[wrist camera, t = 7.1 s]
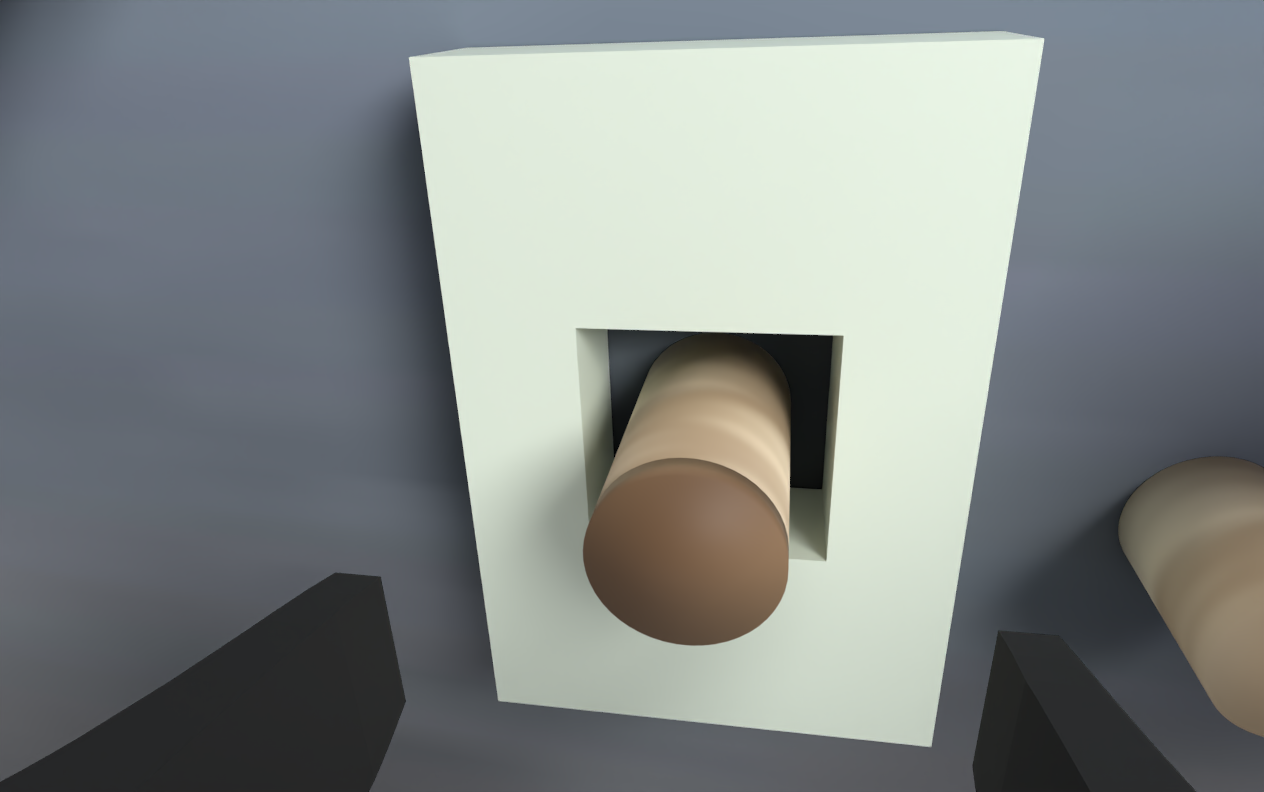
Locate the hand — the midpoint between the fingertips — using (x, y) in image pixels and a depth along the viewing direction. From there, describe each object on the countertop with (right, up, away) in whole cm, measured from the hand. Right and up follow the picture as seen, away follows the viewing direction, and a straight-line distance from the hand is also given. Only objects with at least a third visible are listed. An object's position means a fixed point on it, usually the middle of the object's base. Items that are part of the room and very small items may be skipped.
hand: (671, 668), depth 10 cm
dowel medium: (+1, +3, +7) cm, 8 cm away
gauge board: (+1, +3, +7) cm, 8 cm away
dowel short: (+11, +1, +6) cm, 13 cm away
